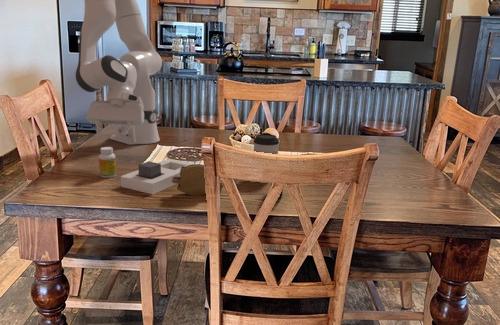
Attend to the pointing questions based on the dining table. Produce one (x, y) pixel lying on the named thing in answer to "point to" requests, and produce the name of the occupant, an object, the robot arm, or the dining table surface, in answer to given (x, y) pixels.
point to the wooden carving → (192, 180)
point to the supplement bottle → (107, 163)
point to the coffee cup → (266, 143)
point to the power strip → (153, 176)
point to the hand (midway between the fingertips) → (111, 133)
